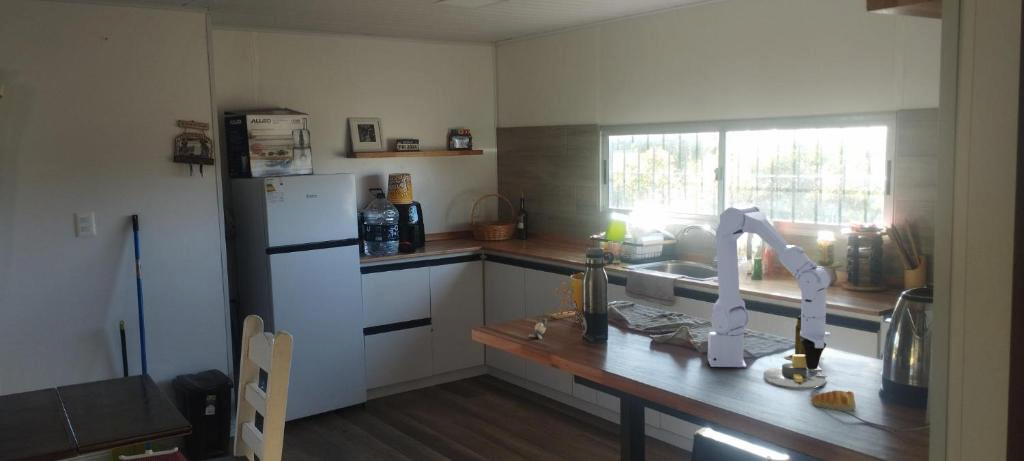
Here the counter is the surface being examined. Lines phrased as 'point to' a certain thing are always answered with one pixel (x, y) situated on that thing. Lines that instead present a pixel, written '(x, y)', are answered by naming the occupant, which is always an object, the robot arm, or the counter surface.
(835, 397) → the pastry
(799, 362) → the multicoloured piece
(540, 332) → the grey cream animal figurine
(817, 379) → the post plate
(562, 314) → the gingerbread man figurine
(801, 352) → the condiment
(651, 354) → the counter surface
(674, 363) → the counter surface
